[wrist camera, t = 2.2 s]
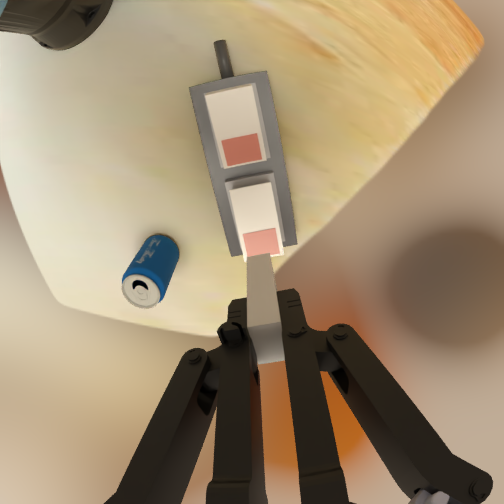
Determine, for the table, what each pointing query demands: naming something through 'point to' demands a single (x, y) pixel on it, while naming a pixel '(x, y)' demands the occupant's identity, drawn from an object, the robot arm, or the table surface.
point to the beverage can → (150, 272)
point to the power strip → (247, 173)
